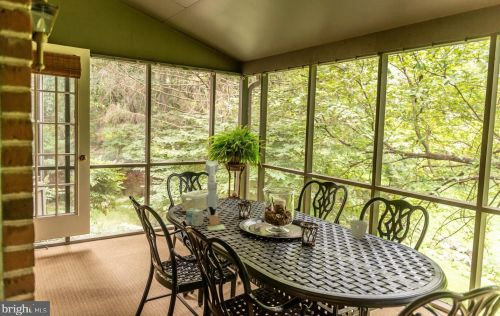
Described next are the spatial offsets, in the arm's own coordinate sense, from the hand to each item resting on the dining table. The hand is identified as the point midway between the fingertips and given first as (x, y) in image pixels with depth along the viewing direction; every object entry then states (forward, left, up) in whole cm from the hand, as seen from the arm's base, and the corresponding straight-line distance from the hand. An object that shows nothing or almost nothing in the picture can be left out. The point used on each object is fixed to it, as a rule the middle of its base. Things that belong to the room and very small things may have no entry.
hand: (212, 216), depth 258 cm
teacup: (+62, +82, -5) cm, 103 cm away
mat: (+12, 0, -5) cm, 13 cm away
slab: (+5, 0, -5) cm, 7 cm away
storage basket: (-44, -4, -5) cm, 44 cm away
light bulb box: (-1, -13, -5) cm, 14 cm away
